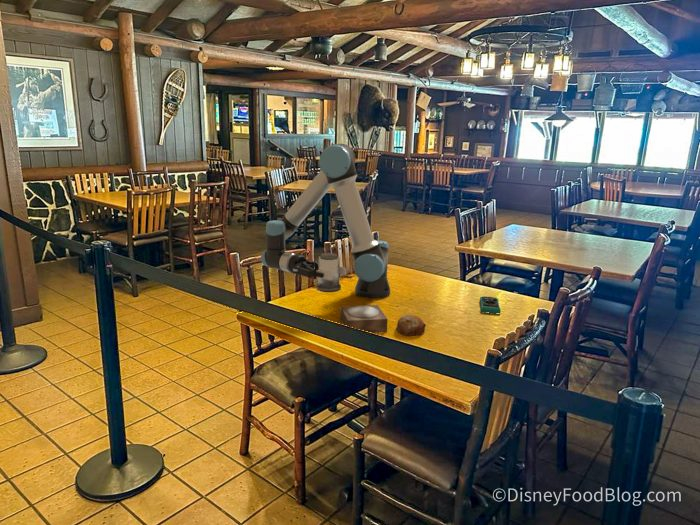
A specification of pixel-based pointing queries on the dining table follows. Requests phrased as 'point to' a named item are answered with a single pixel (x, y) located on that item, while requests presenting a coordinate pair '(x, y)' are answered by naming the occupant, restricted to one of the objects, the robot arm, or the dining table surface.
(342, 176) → the robot arm
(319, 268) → the cylinder
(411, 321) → the bread roll
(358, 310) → the stand
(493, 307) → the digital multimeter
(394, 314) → the dining table surface
